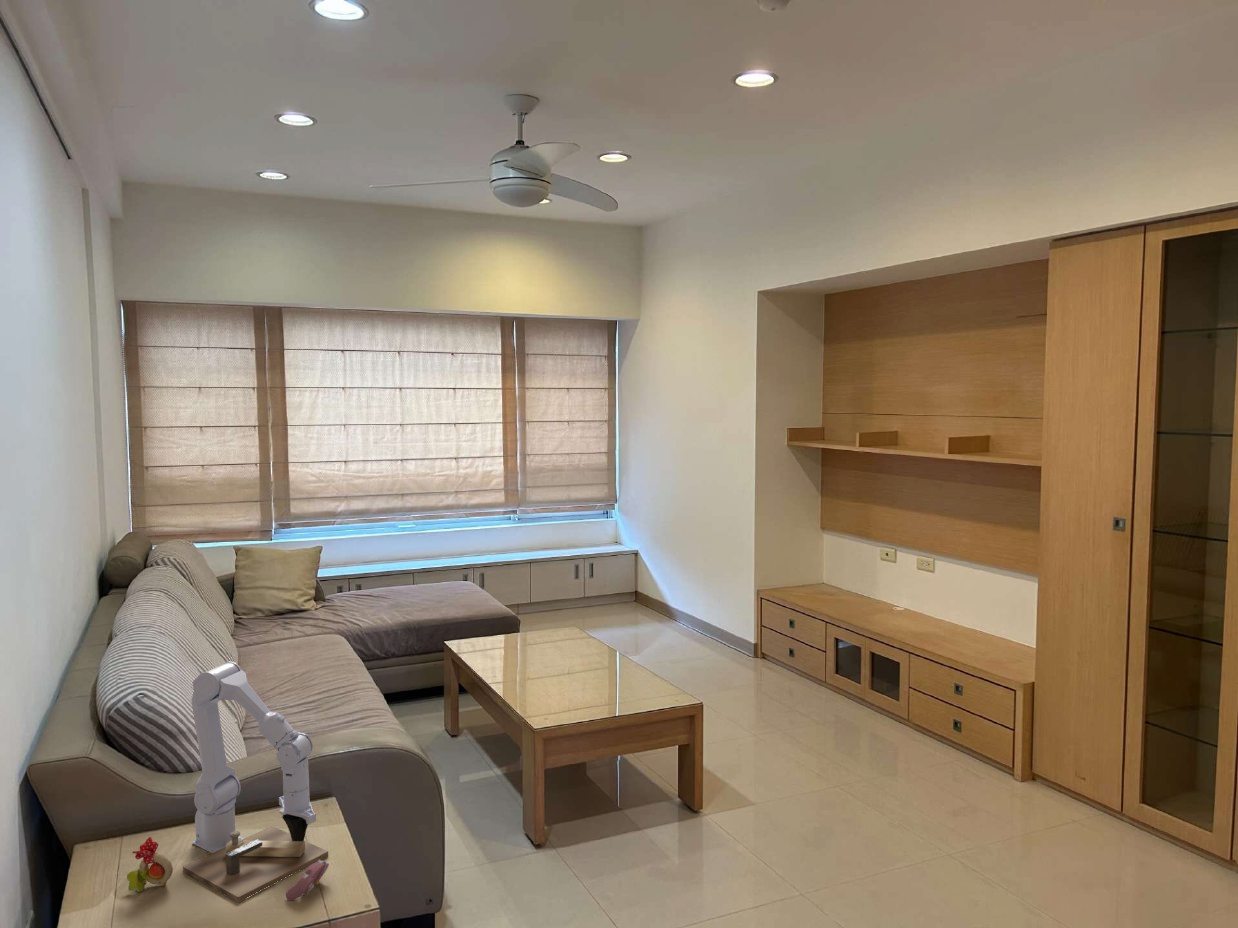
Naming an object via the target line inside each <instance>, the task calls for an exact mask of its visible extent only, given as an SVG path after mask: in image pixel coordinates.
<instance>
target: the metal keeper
mask: <svg viewBox="0 0 1238 928" xmlns="http://www.w3.org/2000/svg"><path fill="white" fill-rule="evenodd" d="M261 846H262V841H260V840H258V839H257V840H254V841H252V842H250V843H248V844H246V845H244V846H241V847H239V848H237V849H235V850H233V851H231V852H229V853H226V872H227V874H229V875H231V876H233V875H235V874H237V873H239V872H240V863H239V857H240V856H242V855H244V854H246V853H248V852H250V851H253V850H255V849H257V848H259V847H261Z"/></svg>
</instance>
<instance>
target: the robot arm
mask: <svg viewBox="0 0 1238 928" xmlns="http://www.w3.org/2000/svg"><path fill="white" fill-rule="evenodd" d="M247 677H248V676H247V673H246V672H245V670H242V668H241V666H240V665H239V664H238V663H237V662H235V661H225V662H223V664H220V665H218V666H215V667H214V668H211V669H209V670H206V671H204V672H201V673H200V674H199V675H198V676H196V677H195V679H194V680H192V688H193V692H192V697H191V706H192V712H193V713H192V714H193V721H194V726H195V733H196V740H197V746H198V751H199V759H200V766H201V771H202V772H201V773H200V776H199V778H198V779H197V781H196V783H195V785H194V787H195V794H194V798H193V799H194V806H195V807H196V809H197V810H196V813H195V816H194V826H195V827H194V828H195V840H193V841H192V844H193V845H195V846H197V847H199V848H201V849H203V850H204V851H206V852H209V853H210V854H212V853H214V852H216V851H218V850H220V849H223V848H225V847H226V844H227V843H228V842H230V841H232V838H231V837H230V833H232V832H234V831H237V830H236V812H235V811H236V810H235V809H236V807H235V803H236V802H237V797H239V795H240V793H241V790H242V789H241V788H242V787H241V782H240V780H239V778H238V777H237V775H236V770H235V768H234V767H231V766H229V765H228V763H227V756H226V749H225V743H224V737H223V730H222V723H221V718H220V712H219V702H220V701H222V700H223V701H235V702H236V703H238V705H239V706H241V708H243V709H244V711H246V712H247V713H248V714H249V715H250V716H251V717H252V718H253V719H254V720H255V721H256V722H258V728H257V729H258V730H257V731H259V733H260V734H261V735H262V736H263V737H264V738H265V739H266V740H267V741H268V743H269V744H270V745H271V746H272V747H273V749H275V750H276V751H277V752H276V754H275V756H276V760H277V761H278V762H279V764H280V766H281V767H280V768H281V771H282V785H283V786H282V787H283V789H282V791H283V795H282V796H279V797H278V804H279V805H278V806H280V807H282V808H280V809H279V814H280V815H282V817H281V818H282V820H283V821H284V822H285V824H286V826H287V829H288V831H289V834H290V835H291V838H292V841H305V837H306V832H307V829H308V826H309V825H310V824H314V823H316V822H317V814H316V813H315V812H314V809H313V807H312V803H311V802H310V775H309V755H310V754H311V753H312V751H313V747H314V746H313V741H312V740H311V738H310V737H309V735H308V734H307V733H304V732H299V731H298V730H297V729H294V728H293V726H291V725H290V723H289V722H288V721H287V720H286V717H285V716H284V715H283V714H281V713H280V712H276V711H271V710H270V709H269V708H268V707H267V705H266V704H265V703H264V701H263V700H262V699H261V697H259V695H258V694H257V692H256V691H255V690H254V689H253V688H252V685H250V684H249V683H248V679H247ZM238 839H244V837H242V836H238Z"/></svg>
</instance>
